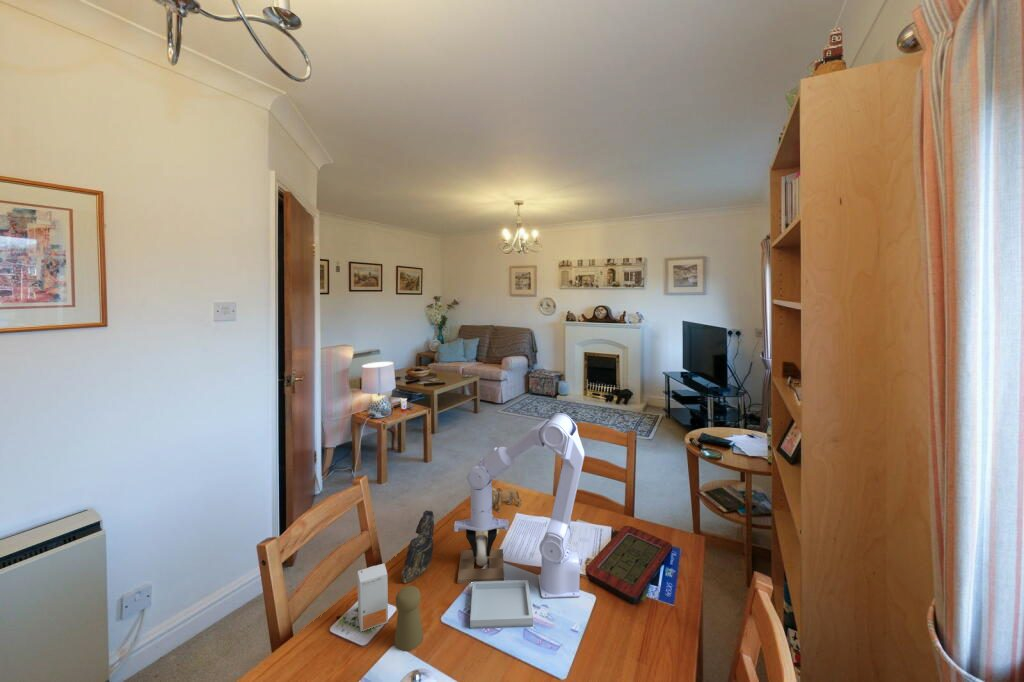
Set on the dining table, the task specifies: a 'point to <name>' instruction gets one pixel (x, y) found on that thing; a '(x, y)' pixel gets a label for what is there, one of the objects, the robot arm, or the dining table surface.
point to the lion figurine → (504, 496)
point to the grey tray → (501, 604)
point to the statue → (420, 549)
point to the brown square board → (478, 575)
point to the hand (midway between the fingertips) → (481, 554)
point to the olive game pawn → (408, 619)
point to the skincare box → (372, 597)
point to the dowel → (481, 550)
